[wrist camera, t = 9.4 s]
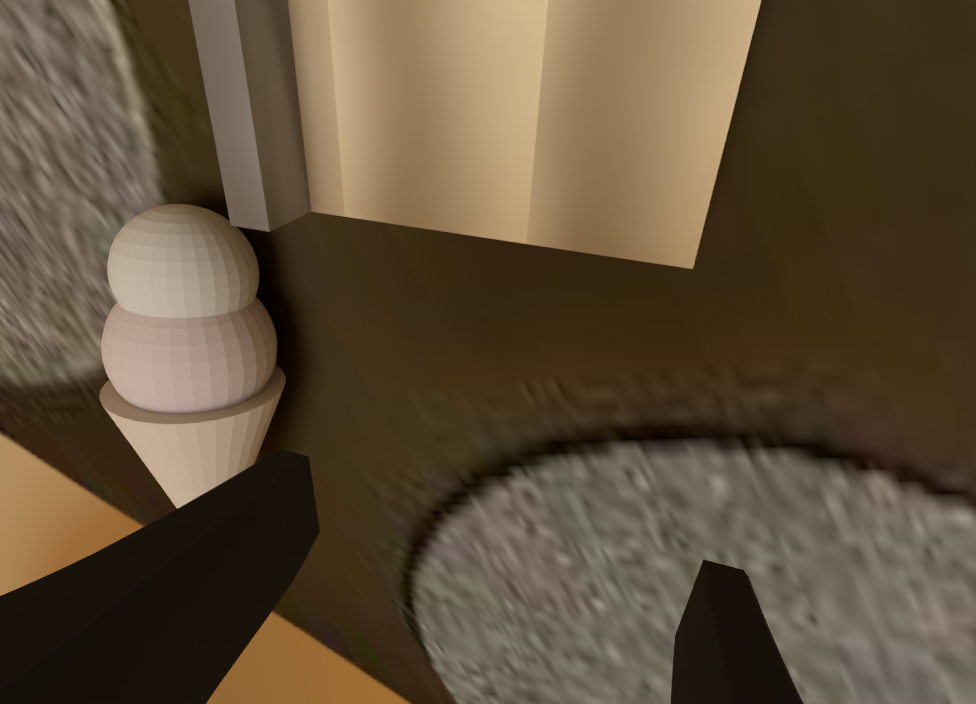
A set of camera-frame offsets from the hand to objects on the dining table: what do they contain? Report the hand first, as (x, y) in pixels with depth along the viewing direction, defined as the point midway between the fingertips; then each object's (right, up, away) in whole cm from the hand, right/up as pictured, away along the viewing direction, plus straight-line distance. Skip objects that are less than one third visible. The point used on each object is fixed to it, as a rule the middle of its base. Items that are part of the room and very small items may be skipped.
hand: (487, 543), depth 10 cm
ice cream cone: (-10, +3, +14) cm, 17 cm away
